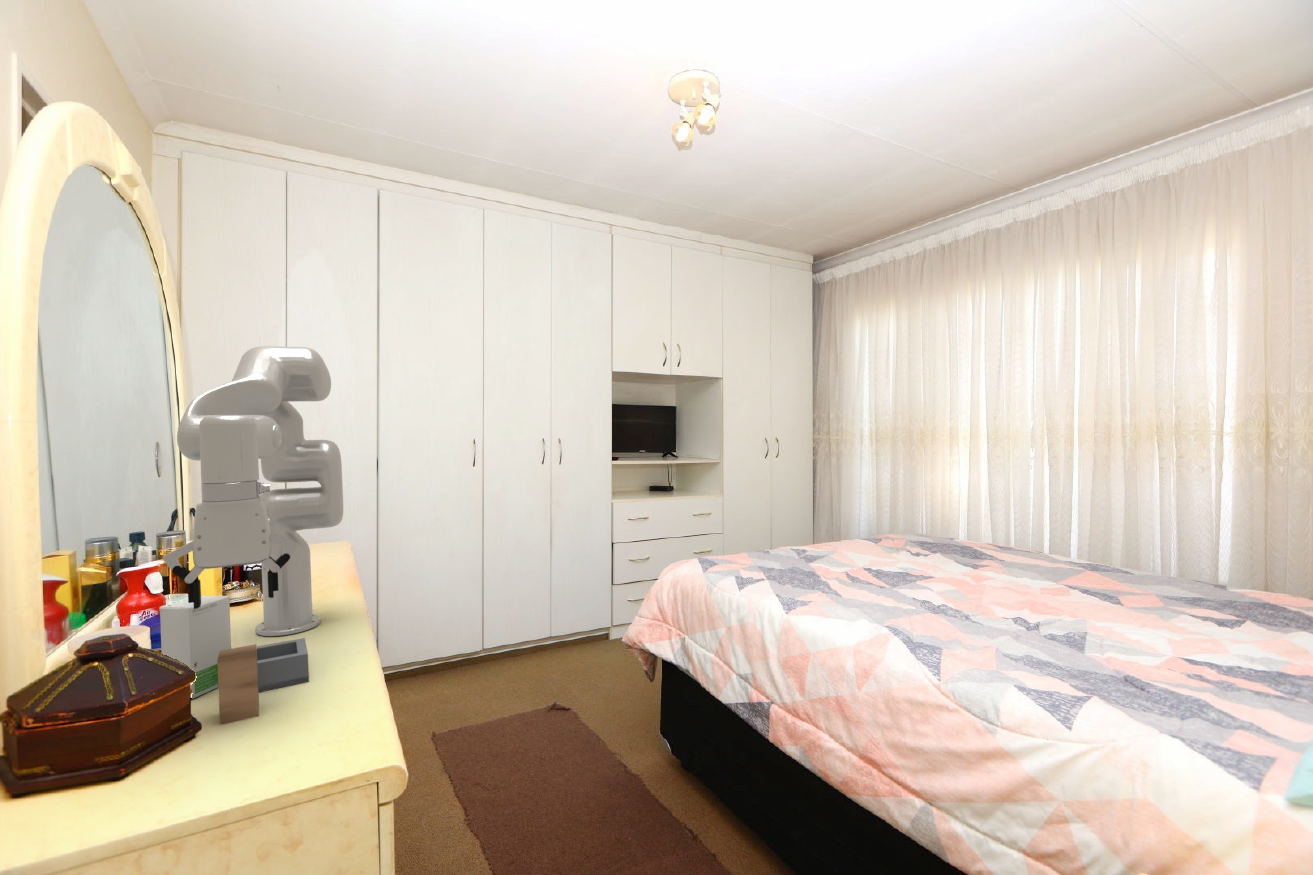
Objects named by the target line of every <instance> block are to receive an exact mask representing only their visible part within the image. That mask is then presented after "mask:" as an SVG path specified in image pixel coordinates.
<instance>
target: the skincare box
mask: <svg viewBox="0 0 1313 875" xmlns="http://www.w3.org/2000/svg"><path fill="white" fill-rule="evenodd" d="M230 606H231V605H230V596H229V595H201V605H200V607H199V608H198V609H194V602H193V603H188V598H187V599H183V600H179V601H176V602H172V603H169V604H165V605H161V606H159V616H160V617H159V618H160V619H159V620H160V621H159V622H160V643H161V644H160V645H161V646H160V647H161V655H162V654H163V655H167V656H169V657H171V658H173V659H177V660H179V661H180V662H182V663H184V664H186V665H187V666H188V667H189V668H191V669H193V671H194V672H195V673H196V676H197V678H196V681H195V682H193V684H192V685H191V689H192V693H193V694H192V699H191V700H193V699H195V698H198V697H200V696H202V695H205V694H206V693H209V692H211V691H213V690H215V689H217V688H218V664H217V660H218V655H219V651H221V650H227V649H232V636H231V635H232V634H231V632H232V631H231V612H230V611H231V610H230V609H231V608H230Z"/></svg>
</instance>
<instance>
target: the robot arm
mask: <svg viewBox="0 0 1313 875" xmlns="http://www.w3.org/2000/svg"><path fill="white" fill-rule="evenodd" d="M329 371H330V370H329V369H328V367H327V365H326V363H325V361H324V358H323V357H322V356H321V355H320V354H319V352H317V351H316V350H314V349H313V348H310V347H305V346H279V345H277V346H276V345H275V346H273V345H271V346H269V345H263V346H261V345H260V346H255V347H252V348H250V349H249V350H247V351H245V352H244V353H243V355H242V356H241V357H240V361H239V363H238V366H237V367H236V370H235V373H234V375H233V376H232V377H233V378H232V379H231V381H229V382H227V383H224V384H221V385H219V386H217V387H215V388H212V389H209V390H208V391H205V392H203V393H202V394H200V395H198V396H197V397H195V398H194V399H193V400H191V402H190V403H189V404H188V406H187V407H186V409H185V411H184V412H183V415H182V418H181V420H180V422H179V426H178V429H177V434H176V444H177V447H178V450H179V451H180V453H181V454H182V455H183V456H184V457H185V458H187V459H189V460H192V461H198V462H199V461H200V480H201V481H200V482H201V484H200V485H201V488H200V489H201V490H200V491H201V503H197V504H196V506H195V512H194V517H193V529H192V530H193V532H192V541H190V542H188V543H186V544H184V545H182V546H180V547H178V548H177V549H174V550H172V551H171V552H170V551H169V553H166V554H165V555H164V556H163V558H162V559H163V561H164V563H165V564H166V565H167V567H168V568H169V569H170V570H171V572H172V573H173V574H174V575H175V576H176V577H178V578H180V579H181V580H183V581H184V582H185V583H186V584H187V599H188V603H193V602H194V609H198V608H199V607H200V605H201V596H202V591H201V590H202V589H201V586H202V585H201V579H199V576H200V575H201V573H202V572H204V571H205V569H206V570H210V569H216V568H217V569H218V568H226V567H228V568H229V567H235V566H243V565H253V564H259V563H261V580H262V584H261V585H262V607H263V622H261V623H259V624H257V626H255V633H256V634H257V635H259V636H262V637H280V636H287V635H294V634H298V633H302V632H305V631H308V630H310V629H311V630H312V629H313V628H315V627H317V626H318V625H320V624H321V617H320V615H318V614H313V598H312V597H313V596H312V569H311V568H312V567H311V549H310V545H309V544H308V542H307V541H306V540H305V539H304V538H303V536H301V535H300V534H299V533H298V531H303V530H314V529H316V530H317V529H326V528H328V529H329V528H333V527H336V526H338V525H340V524H341V522H342V520H343V516H344V490H343V488H344V487H343V469H342V468H343V466H342V456H341V452H340V449H339V447H338V445H337V444H336V443H335V442H334V441H332V440H328V439H308V440H307V439H305V435H304V419H303V416H302V415H301V414H300V412H299V411H298V410H297V408H295V406H293V405H292V404H291V402H321V401H325V399H327V398H328V397H329V395H330V393H331V390H332V389H331V388H332V379H331V374H330V372H329ZM259 460H260V466H259ZM259 467H261V473H262V475H263V478H264V479H265V480H266V481H268V482H271V483H282V484H285V483H302V482H303V483H305V482H309V483H310V482H317V483H318V484H319V485H320V486H316V487H315V486H313V487H293V488H292V487H290V488H276V489H272V490H271V488H270V485H271V484H270V483H264V482H262V481H261V482H260V474H259V473H260V470H259ZM191 552H192V560H193V565H194V566H193V567H192V568H191V569H188V568H187V567H185V566H184V565H182V564H181V563H180V560H179V558H182V557H183V556H185V555H187V554H189V553H191Z"/></svg>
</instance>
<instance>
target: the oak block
mask: <svg viewBox="0 0 1313 875" xmlns="http://www.w3.org/2000/svg"><path fill="white" fill-rule="evenodd" d="M217 664H218V709H219V712H218V713H219V725H220V726H222V725H226V724H230V723H234V722H239V721H243V720H244V721H245V720H248V719H252V718H256V717H259V716H260V715H259V714H260V710H259V709H260V702H259V700H260V699H259V698H260V696H259V692H258V669H257V643H256V644H250V645H245V646H239V647H234V648H233V647H231V649H227V650H221V651H219V655H218V660H217Z"/></svg>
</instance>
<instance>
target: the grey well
mask: <svg viewBox="0 0 1313 875" xmlns="http://www.w3.org/2000/svg"><path fill="white" fill-rule="evenodd" d="M257 669H258V693H261V692H266V691H270V690H275V689H279V688H280V689H281V688H284V687H285V688H286V687H289V686H293V685H299V684H303V683H308V682H310V675H309V674H310V673H309V653H308V647H307V642H306V637H301V638H297V639H291V640H285V641H279V642H273V643H268V644H262V645H258V646H257Z"/></svg>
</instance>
